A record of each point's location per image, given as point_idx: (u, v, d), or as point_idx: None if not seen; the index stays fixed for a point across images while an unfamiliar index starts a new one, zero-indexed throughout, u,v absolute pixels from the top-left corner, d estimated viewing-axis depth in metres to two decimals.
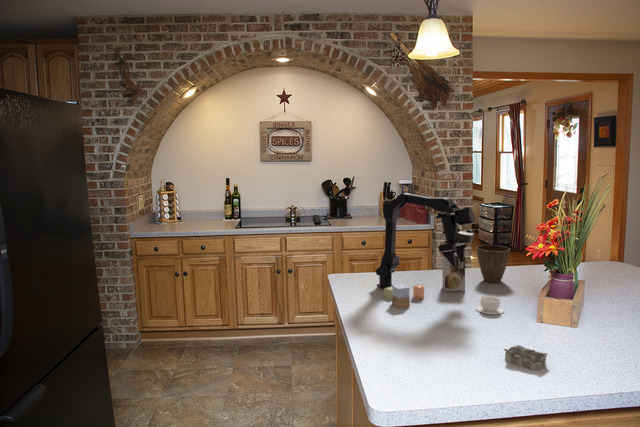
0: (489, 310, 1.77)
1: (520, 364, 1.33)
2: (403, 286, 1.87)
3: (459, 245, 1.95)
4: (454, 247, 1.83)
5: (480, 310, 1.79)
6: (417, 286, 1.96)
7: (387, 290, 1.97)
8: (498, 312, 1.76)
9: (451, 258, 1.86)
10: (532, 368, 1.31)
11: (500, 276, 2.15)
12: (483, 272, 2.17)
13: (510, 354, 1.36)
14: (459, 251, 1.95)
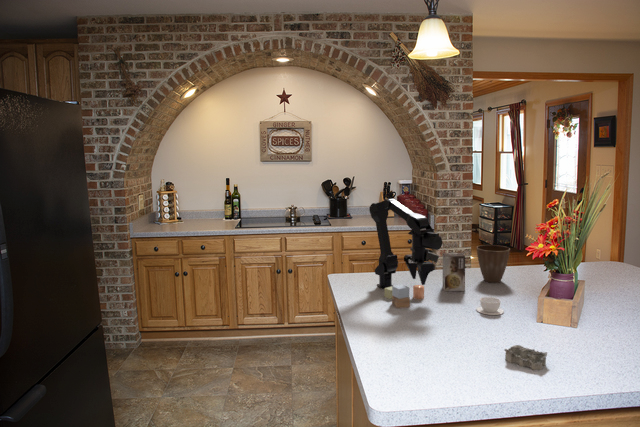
0: (489, 311, 1.76)
1: (521, 364, 1.33)
2: (403, 286, 1.87)
3: (413, 263, 2.00)
4: None
5: (480, 311, 1.78)
6: (417, 286, 1.96)
7: (387, 290, 1.97)
8: (498, 313, 1.76)
9: (424, 277, 1.90)
10: (532, 368, 1.31)
11: (500, 276, 2.15)
12: (483, 272, 2.17)
13: (510, 354, 1.36)
14: (412, 268, 2.00)
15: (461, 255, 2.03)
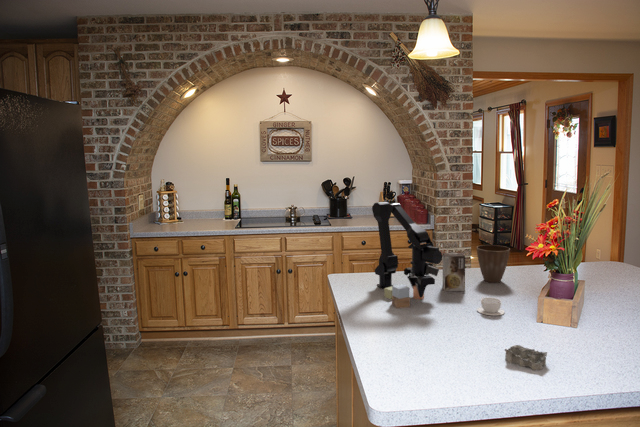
0: (490, 311, 1.75)
1: (521, 364, 1.33)
2: (403, 286, 1.87)
3: (415, 277, 1.99)
4: None
5: (481, 311, 1.78)
6: None
7: (387, 290, 1.97)
8: (499, 313, 1.75)
9: (422, 289, 1.93)
10: (533, 367, 1.31)
11: (500, 276, 2.15)
12: (483, 272, 2.17)
13: (511, 354, 1.36)
14: (414, 283, 1.99)
15: (461, 255, 2.03)
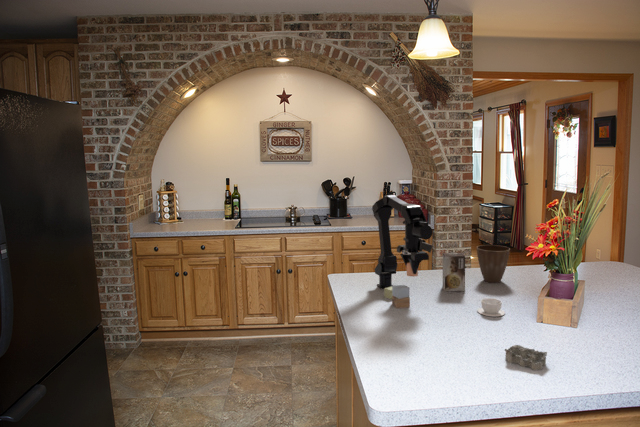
0: (490, 312, 1.75)
1: (521, 364, 1.33)
2: (403, 286, 1.87)
3: (408, 254, 1.93)
4: None
5: (481, 312, 1.77)
6: None
7: (387, 290, 1.97)
8: (499, 314, 1.74)
9: (416, 266, 1.87)
10: (533, 367, 1.31)
11: (500, 276, 2.15)
12: (483, 272, 2.17)
13: (511, 354, 1.36)
14: (407, 260, 1.93)
15: (461, 255, 2.03)
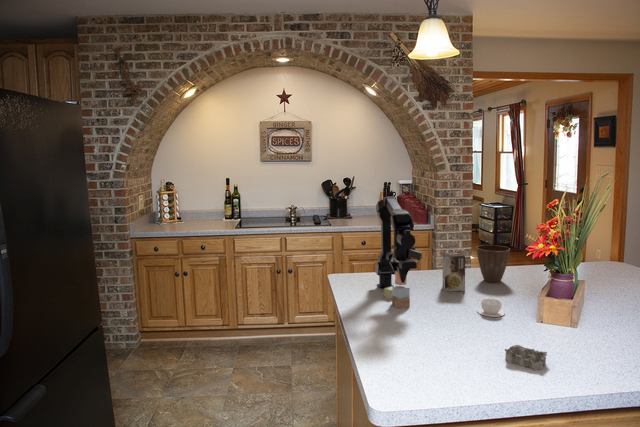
0: (490, 312, 1.74)
1: (521, 364, 1.33)
2: (403, 286, 1.87)
3: (397, 262, 1.88)
4: None
5: (481, 312, 1.76)
6: None
7: (387, 290, 1.97)
8: (499, 314, 1.74)
9: (404, 274, 1.82)
10: (533, 367, 1.31)
11: (500, 276, 2.15)
12: (483, 272, 2.17)
13: (511, 354, 1.36)
14: (396, 268, 1.88)
15: (461, 255, 2.03)
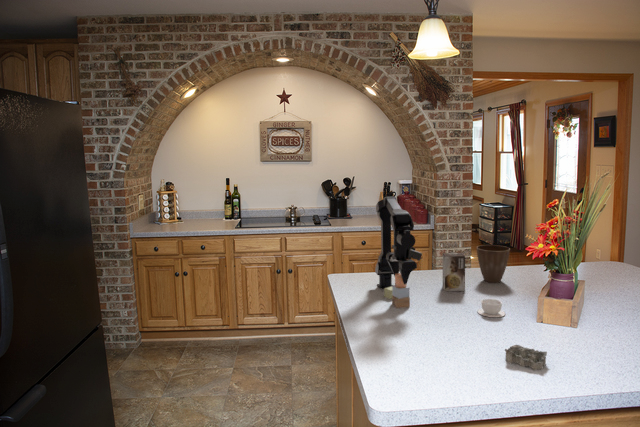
0: (490, 313, 1.74)
1: (521, 364, 1.33)
2: None
3: (395, 261, 1.91)
4: None
5: (481, 313, 1.76)
6: (399, 274, 1.86)
7: (387, 290, 1.97)
8: (500, 315, 1.73)
9: (406, 276, 1.80)
10: (533, 367, 1.31)
11: (500, 276, 2.15)
12: (483, 272, 2.17)
13: (511, 354, 1.36)
14: (394, 267, 1.90)
15: (461, 255, 2.03)
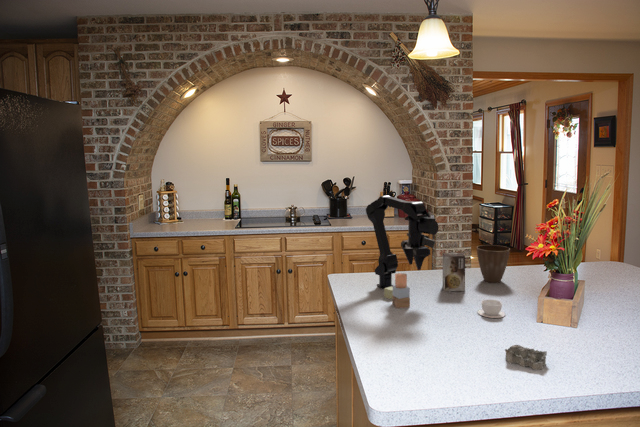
0: (491, 313, 1.73)
1: (522, 364, 1.33)
2: None
3: (410, 248, 2.01)
4: None
5: (481, 313, 1.75)
6: (399, 274, 1.86)
7: (387, 290, 1.97)
8: (500, 315, 1.73)
9: (420, 262, 1.91)
10: (534, 367, 1.31)
11: (500, 276, 2.15)
12: (483, 272, 2.17)
13: (511, 354, 1.35)
14: (409, 254, 2.01)
15: (461, 255, 2.03)
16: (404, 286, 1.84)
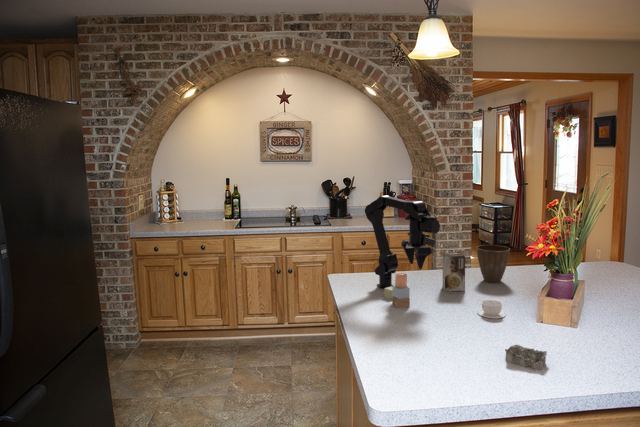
0: (491, 314, 1.73)
1: (522, 364, 1.33)
2: None
3: (410, 248, 2.02)
4: None
5: (481, 314, 1.75)
6: (399, 274, 1.86)
7: (387, 290, 1.97)
8: (500, 316, 1.72)
9: (421, 261, 1.92)
10: (534, 367, 1.32)
11: (500, 276, 2.15)
12: (483, 272, 2.17)
13: (511, 354, 1.35)
14: (410, 253, 2.02)
15: (461, 255, 2.03)
16: (404, 286, 1.84)
